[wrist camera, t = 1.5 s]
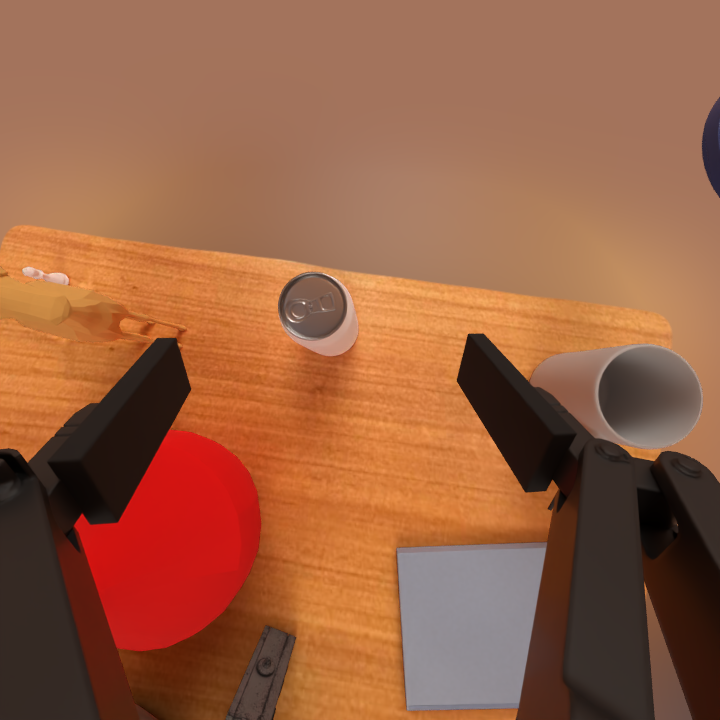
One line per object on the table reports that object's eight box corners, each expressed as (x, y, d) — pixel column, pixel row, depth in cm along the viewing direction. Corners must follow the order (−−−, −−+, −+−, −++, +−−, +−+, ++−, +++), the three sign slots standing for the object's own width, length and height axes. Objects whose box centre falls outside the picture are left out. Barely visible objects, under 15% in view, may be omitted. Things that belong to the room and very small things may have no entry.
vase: (313, 498, 37) (249, 626, 18) (202, 618, 36) (14, 883, 17) (201, 388, 38) (28, 396, 19) (92, 503, 38) (-195, 630, 19)
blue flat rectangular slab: (578, 539, 35) (586, 546, 34) (594, 696, 34) (602, 708, 33) (396, 546, 36) (397, 553, 35) (405, 700, 35) (407, 712, 34)
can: (298, 309, 38) (264, 277, 26) (351, 295, 38) (341, 257, 26) (311, 362, 38) (282, 354, 26) (364, 348, 38) (361, 334, 26)
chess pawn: (48, 288, 39) (12, 278, 35) (50, 272, 40) (14, 260, 36) (69, 290, 39) (34, 279, 35) (71, 273, 39) (37, 262, 35)
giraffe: (252, 334, 38) (28, 248, 13) (243, 370, 38) (-2, 352, 13) (122, 305, 39) (-321, 172, 14) (113, 340, 39) (-355, 269, 14)
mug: (557, 338, 37) (636, 320, 26) (620, 384, 36) (728, 387, 25) (493, 421, 36) (545, 439, 26) (555, 469, 36) (635, 509, 25)
